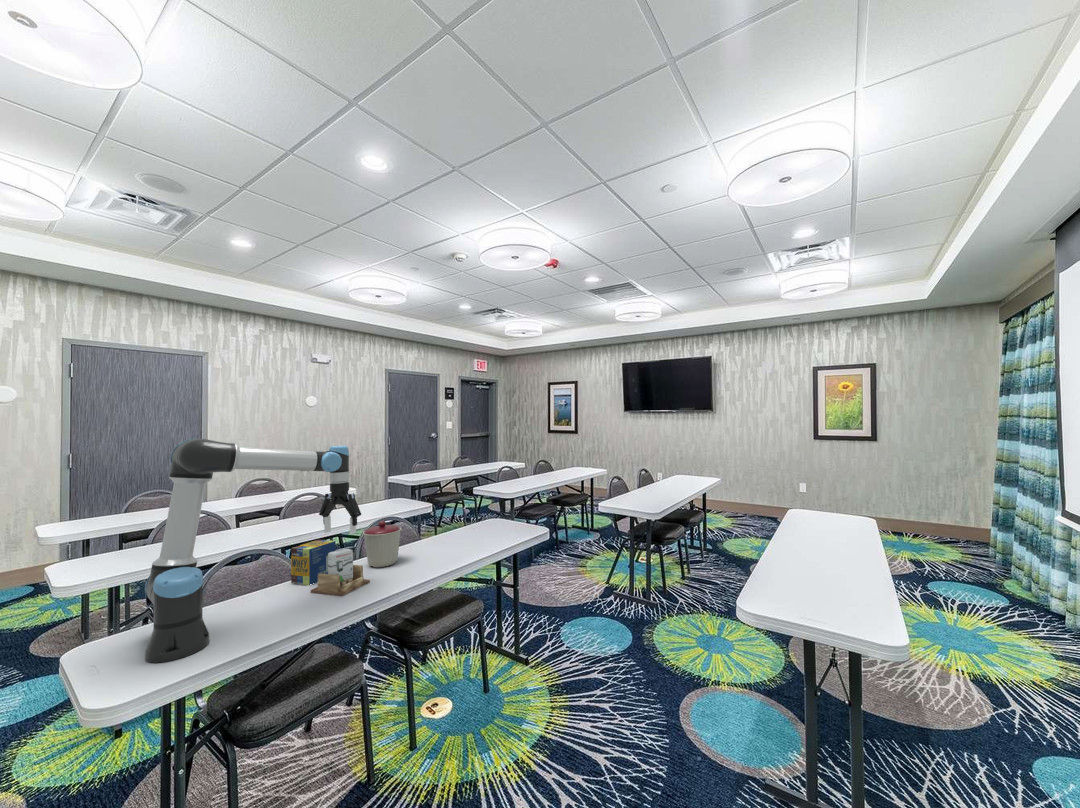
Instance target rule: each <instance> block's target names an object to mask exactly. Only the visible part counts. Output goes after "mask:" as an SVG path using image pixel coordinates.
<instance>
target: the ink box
mask: <svg viewBox="0 0 1080 808" xmlns="http://www.w3.org/2000/svg"><path fill="white" fill-rule="evenodd" d="M353 551H354V550H353V549H349V548H344V549H343V548H342V549H338V550H336V551H334V552H330V553H328V574H330V575H340V582H341V581H344V580H347V579H350V578H353V565H354V552H353Z"/></svg>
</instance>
